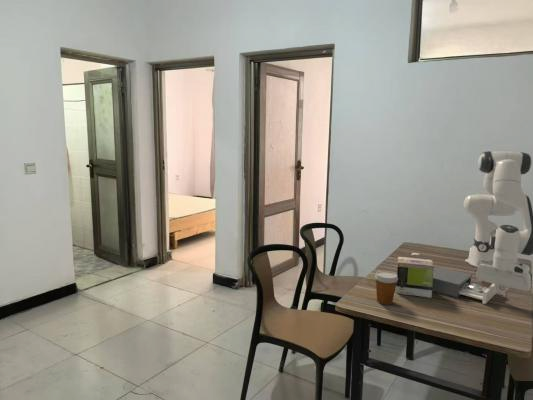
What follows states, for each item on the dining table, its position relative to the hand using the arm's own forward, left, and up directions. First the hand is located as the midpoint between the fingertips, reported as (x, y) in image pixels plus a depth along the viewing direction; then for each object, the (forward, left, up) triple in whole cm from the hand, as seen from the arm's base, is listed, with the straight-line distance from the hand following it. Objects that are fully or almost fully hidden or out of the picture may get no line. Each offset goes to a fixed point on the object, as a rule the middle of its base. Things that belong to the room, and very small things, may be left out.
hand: (500, 294), depth 172 cm
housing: (0, -22, -3) cm, 22 cm away
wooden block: (-13, -8, -3) cm, 15 cm away
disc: (0, -10, -1) cm, 10 cm away
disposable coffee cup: (+36, -35, -3) cm, 50 cm away
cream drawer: (0, -11, -3) cm, 11 cm away
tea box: (+17, -31, -3) cm, 36 cm away
